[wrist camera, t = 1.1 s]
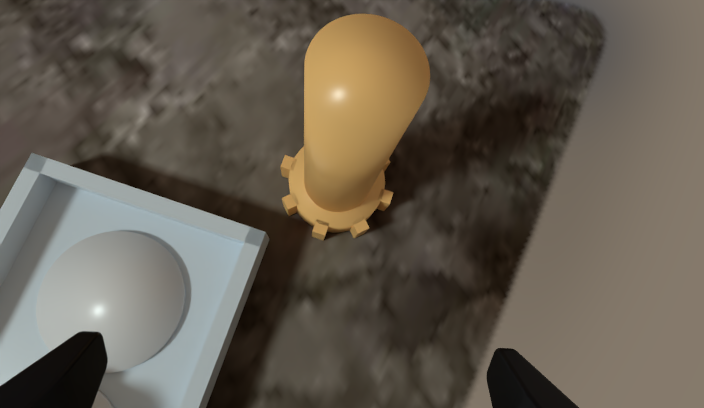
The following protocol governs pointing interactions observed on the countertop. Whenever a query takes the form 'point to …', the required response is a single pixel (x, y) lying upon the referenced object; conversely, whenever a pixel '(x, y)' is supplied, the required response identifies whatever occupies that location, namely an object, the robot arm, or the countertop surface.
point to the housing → (121, 283)
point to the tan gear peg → (353, 120)
